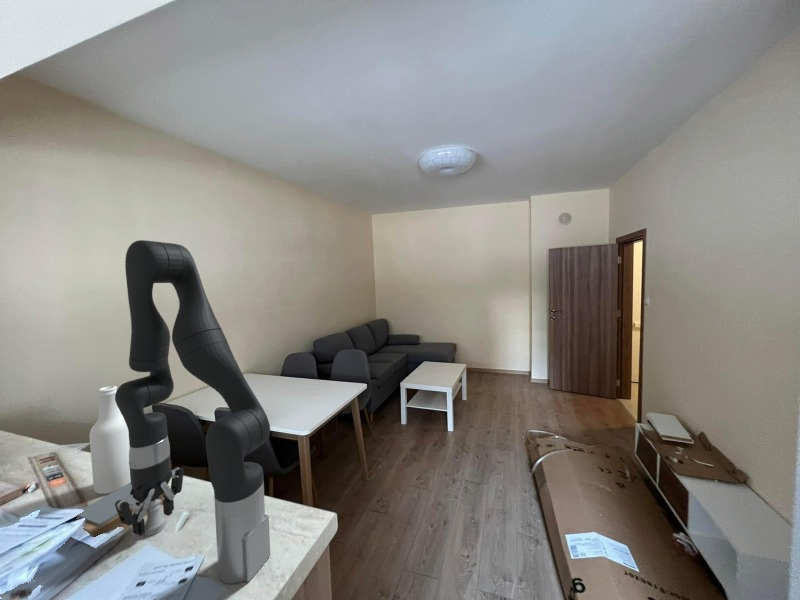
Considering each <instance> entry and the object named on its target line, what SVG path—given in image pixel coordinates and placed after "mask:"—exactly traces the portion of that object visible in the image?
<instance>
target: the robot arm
mask: <svg viewBox="0 0 800 600" xmlns="http://www.w3.org/2000/svg"><path fill="white" fill-rule="evenodd" d="M124 263H125V264H124V265H125V269H124V270H125V280H126V288H127V299H128V307H129V313H130V325H131V326H130V327H131V329H130V330H131V331H130V332H131V336H130V348H129V357H128V365H129V368H130V370H132V371H134V372H138V373H149V375H147V376H144V377H140V378H136V379H132V380H128V381H126V382H124V383H122V384H121V385H119V386H118V387H117V391H116V394H115V401H116V404H117V406H118V408H119V410H120V412H121V414H122V416H123V418H124V420H125V422H126V425H127V428H128V431H129V445H130V446H129V466H130V480H131V485H132V490H131V492H130V495H129V496H127V497H126V498H125V499H123V500H118V501H117V502H116V503H115V507H116V510H117V512H118V515H119V518H120V521H121V523H124V524H126V525H129V527H132V533H133V534H134V535H137V536H140V537H141V536H143V535H145V534H144V533H145V519H144V517H145V516H144V514H145V511H146V510H147V509H148V507H149V504H150V502H151V501H152V500H154V499H155V498H156V497H158V496H160V495H162V497H163V498H164V500H163V504H162V508H163V510H162V511H163V515H164V516H166V517H167V516H171V515H172V514H173V512H174V509H175V504H174V499H175V497H176V495H177V494H180V493H181V492H182V489H183V483H184V473H185V470H184V468H183V467H182V468H181V467H178V466H175V467H174V468H173V469H172V466H171V465H172V463H171V448H170V447H171V446H170V441H169V435H168V424H167V415H166V413H163V412H159V411H154V412H148V413H145V409H146V408H148V407H151V406H154V405H157V404H159V403H161V402H164V401H167V399H169V398H170V396H171V395H173V392H174V387H175V385H174V384H175V382H174V379H173V377H172V372H171V369H170V364H169V354H170V345H171V344H170V343H171V340H172V344H173V347H174V349H175V351H176V353H177V356H178V358H179V360H180V362H181V364H182V366H183V367H184V369H185V370H186V371H187V372H189V374H191V375H192V376H193V377H195V378H196V379H198V381H200V382H202V383H204V384H206V385H207V386H209V387H211V388H212V389H213V390H215V391H216V392H217V393H218V394H219V395H220V396H221V398H223V400H224V401H225V404H226V405H227V406H228V408H229V410H230V414H227V415H226V416H223V417H221V418H220V419H218V420H216V421H214V422H213V423H211V424H210V425H209V426H208V429H207V431H206V435H205V449H206V450H205V451H206V458H207V467H208V476H209V477H208V478H209V480H210V483H211V486H212V488H213V496H214V497H213V498H214V515H215V516H214V517H215V531H216V532H215V534H216V535H215V537H216V538H215V539H216V552H217V554H216V555H217V565H218V566H217V568H218V569H217V570H218V571H217V572H218V577H219V579H220V580H221V581H222V582H223V583H226V584H232V585H233V584H238V583H242V582H246V583H249V582H250V581H251V580H252V579H253V578H254V576H255V575H256V574H257V573H258V572H257V571H260V569H261V568H262V567H263V566H264V565H265V563H266V562H267V561H266V560H269V558H270V557H271V539H270V538H271V537H270V536H271V535H270V517H269V515H268V514H266V511H265V510H266V508H265V507H266V506H265V484H264V483H265V481H264V479H265V478H264V470H263V467H262V465H260V464H259V463H257V462H253V461H245V460H244V459H245V457H246V456H248V455H250V454H251V453H252V452H254V451H255V450H257V449H258V448H259V447H261V446H262V445H264V443H266V442H267V441H268V439H269V437H270V434H271V425H270V421H269V418H268V416H267V414H266V411H265V410H264V408H263V406H262V405H261V403H260V401H259V400H258V398H257V396H256V395H255V393H254V392H253V390H252V389H251V386H250V385H249V383H248V381H247V380H246V378H245V377H244V374H243V373H242V370H241V368H240V366H239V365H238V362H237V360H236V358H235V356H234V354H233V352H232V349H231V347H230V345H229V343H228V340H227V337H226V336H225V333H224V332H223V330H222V327H221V325H220V323H219V322H218V319H217V317H216V315H215V312H214V311H213V308H212V307H211V304H210V302H209V299H208V297H207V295H206V292H205V288H204V286H203V283H202V280H201V277H200V274H199V270H198V267H197V265H196V262H195V259H194V257H193V255H192V254H191V252H190V250H189V249H188V248H187V247H185V246H184V245H182V244H178V243H172V242H163V241H153V240H143V239H142V240H141V239H140V240H135V241H134V242H132V243H131V244H130V245H129V246H128V248H127V250H126V253H125V262H124ZM154 284H171V285H172V286H173V288H174V290H175V293H176V296H177V298H178V302H179V303H178V304H179V305H178V306H179V307H178V311H177V314H176V318H175V320H174V324H173V328H172V334H171V332H170V329H169V327H168V324H167V322H166V320H165V319H164V318H163V316H162V315H161V313H160V312H159V310H158V308H157V307H156V305H155V302H154V298H153V290H154ZM170 481H171V483H170ZM169 483H170V486H169ZM133 499H135V502H134V505H133V512H132V513H131V510H130V507H131V506H132V505H131V502H132V500H133ZM141 502H142V503H143V504H142V503H141ZM130 525H131V526H130ZM269 556H270V557H269ZM268 557H269V558H268ZM265 561H266V562H265ZM261 566H262V567H261Z"/></svg>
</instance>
